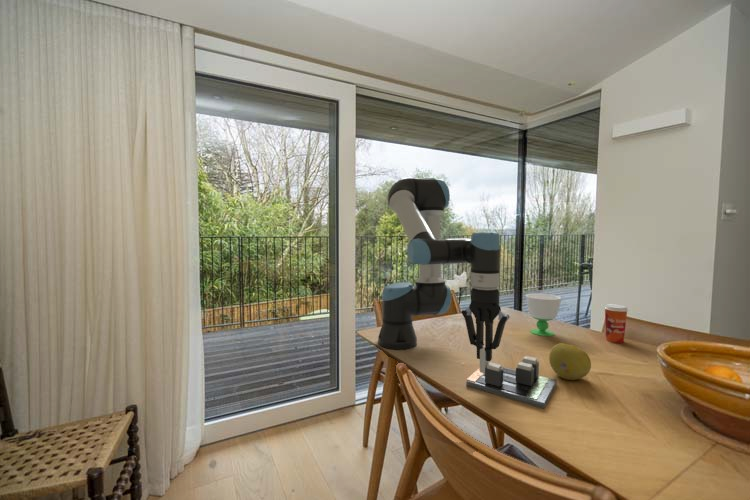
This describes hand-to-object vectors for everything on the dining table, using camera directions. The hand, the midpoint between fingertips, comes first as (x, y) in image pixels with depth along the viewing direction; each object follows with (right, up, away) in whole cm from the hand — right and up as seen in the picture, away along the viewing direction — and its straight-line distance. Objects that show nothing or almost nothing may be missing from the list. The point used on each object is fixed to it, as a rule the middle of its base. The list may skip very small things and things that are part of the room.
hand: (484, 371), depth 93 cm
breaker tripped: (+2, -3, -1) cm, 4 cm away
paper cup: (+64, -2, +38) cm, 75 cm away
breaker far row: (+14, -2, +3) cm, 15 cm away
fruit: (+27, -4, +6) cm, 28 cm away
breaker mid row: (+11, -3, -1) cm, 11 cm away
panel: (+8, -5, +1) cm, 9 cm away
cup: (+41, -2, +49) cm, 64 cm away
